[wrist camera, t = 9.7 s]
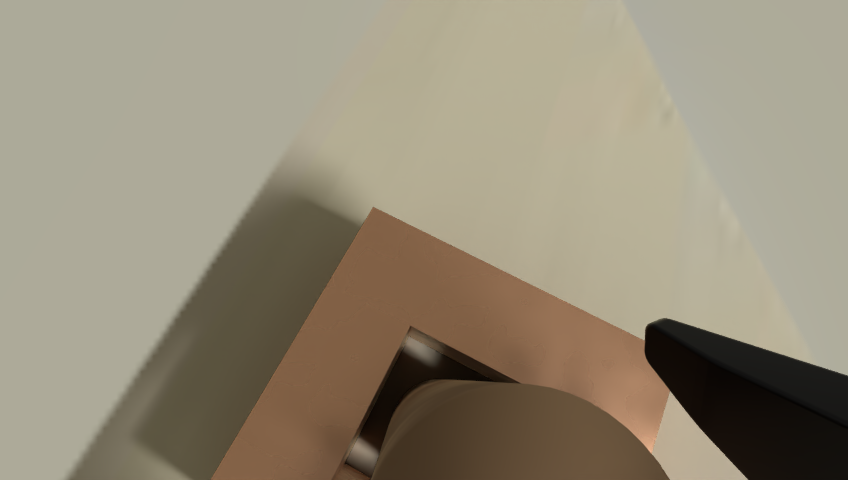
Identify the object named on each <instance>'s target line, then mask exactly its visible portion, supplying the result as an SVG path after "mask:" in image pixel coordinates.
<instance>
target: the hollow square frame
mask: <svg viewBox="0 0 848 480" xmlns="http://www.w3.org/2000/svg"><path fill="white" fill-rule="evenodd" d="M409 336H410V337H411V338H413V339H415V340H417V341H419V342H421V343H423V344H425V345H427V346H429V347H430V348H432V349H434V350H436V351H438V352H440V353H442V354H444V355H446V356H448V357H450V358H451V359H453V360H455V361H457V362H459V363H461V364H463V365H465V366H467V367H469V368H470V369H472V370H474V371H476V372H478V373H480V374H482V375H484V376H486V377H488V378H490V379H491V380H493V381H495V382H501V383H518V384H531V385H538V386H545V387H550V388H554V389H557V390H561V391H564V392H567V393H570V394H573V395H575V396H577V397H580V398H582V399H584V400H586V401H589V402H590V403H592V404H594V405H595V406H597V407H599V408H600V409H602V410H604V411H605V412H607V413H609V414H610V415H611V416H613V417H614V418H615V419H616V420H618V421H619V422H620V423H622V424H623V425H624V426H625V427H627V428H628V429H629V430H630V431H631V432H632V433H633V434H634V435H635V436H636V437H637V438H638V439H639V440H640V441H641V442H642V443H643V444H644V445H645V447H646V448H647V449H648V450H649V451H650V453H651V454H652V450H653V447H654V444H655V440H656V437H657V433H658V430H659V426H660V423H661V420H662V416H663V413H664V409H665V406H666V402H667V399H668V395H669V392H670V390H669V389H668V387H667V386H666V385H665V384H664V382H663V381H662V380H661V378H660V377H659V376H658V375H657V373H656V372H655V371H654V369H653V368H652V367H651V366H650V364H649V363H648V361H647V359H646V357H645V353H644V347H645V341H644V340H642V339H640V338H638V337H636V336H634V335H632V334H630V333H628V332H626V331H624V330H622V329H620V328H618V327H616V326H613V325H611V324H609V323H607V322H605V321H603V320H601V319H599V318H597V317H595V316H593V315H591V314H589V313H587V312H585V311H583V310H581V309H579V308H577V307H575V306H573V305H571V304H569V303H567V302H565V301H563V300H561V299H559V298H557V297H555V296H553V295H551V294H549V293H547V292H545V291H543V290H541V289H539V288H536V287H534V286H532V285H530V284H528V283H526V282H524V281H522V280H520V279H518V278H516V277H514V276H512V275H510V274H508V273H506V272H504V271H502V270H500V269H498V268H496V267H494V266H492V265H490V264H488V263H486V262H484V261H482V260H480V259H478V258H476V257H474V256H472V255H470V254H468V253H466V252H464V251H462V250H459V249H457V248H455V247H453V246H451V245H449V244H447V243H445V242H443V241H441V240H439V239H437V238H435V237H433V236H431V235H429V234H427V233H425V232H423V231H421V230H419V229H417V228H415V227H413V226H411V225H409V224H407V223H405V222H403V221H401V220H399V219H397V218H395V217H393V216H391V215H389V214H387V213H385V212H382V211H380V210H378V209H376V208H374V207H373V208H372V210H371V212H370V213H369V215H368V217H367V218H366V220H365V222H364V223H363V225H362V227H361V228H360V230H359V232H358V233H357V235H356V237H355V238H354V240H353V242H352V243H351V245H350V247H349V248H348V250H347V252H346V253H345V255H344V257H343V258H342V260H341V262H340V264H339V265H338V267H337V269H336V270H335V272H334V274H333V275H332V277H331V279H330V280H329V282H328V284H327V285H326V287H325V289H324V290H323V292H322V294H321V295H320V297H319V299H318V300H317V302H316V304H315V305H314V307H313V309H312V310H311V312H310V314H309V315H308V317H307V319H306V320H305V322H304V324H303V326H302V327H301V329H300V331H299V332H298V334H297V336H296V337H295V339H294V341H293V342H292V344H291V346H290V347H289V349H288V351H287V352H286V354H285V356H284V357H283V359H282V361H281V362H280V364H279V366H278V367H277V369H276V371H275V372H274V374H273V376H272V377H271V379H270V381H269V383H268V384H267V386H266V388H265V389H264V391H263V393H262V394H261V396H260V398H259V399H258V401H257V403H256V404H255V406H254V408H253V409H252V411H251V413H250V414H249V416H248V418H247V419H246V421H245V423H244V424H243V426H242V428H241V429H240V431H239V433H238V434H237V436H236V438H235V440H234V441H233V443H232V445H231V446H230V448H229V450H228V451H227V453H226V455H225V456H224V458H223V460H222V461H221V463H220V465H219V466H218V468H217V470H216V471H215V473H214V475H213V476H212V478H211V480H371V478H370V477H368V476H367V475H365V474H363V473H361V472H360V471H358V470H356V469H354V468H353V467H351V466H349V465H347V464H346V463H345V461H346V460H347V458H348V456H349V454H350V452H351V450H352V448H353V446H354V444H355V442H356V440H357V438H358V436H359V434H360V432H361V430H362V428H363V426H364V424H365V422H366V420H367V418H368V416H369V414H370V412H371V410H372V408H373V406H374V404H375V402H376V400H377V398H378V397H379V395H380V393H381V391H382V389H383V387H384V385H385V383H386V381H387V379H388V377H389V375H390V373H391V371H392V369H393V367H394V365H395V363H396V361H397V359H398V357H399V355H400V353H401V351H402V349H403V347H404V345H405V343H406V341H407V339H408V337H409Z"/></svg>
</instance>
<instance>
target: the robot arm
mask: <svg viewBox="0 0 848 480" xmlns="http://www.w3.org/2000/svg"><path fill="white" fill-rule="evenodd" d="M644 353H645V357H646V359H647V361H648V363H649V364H650V366H651V367H652V368H653V369H654V371H655V372H656V373H657V375H658V376H659V377H660V378H661V380H662V381H663V382H664V384H665V385H666V386H667V387H668V389H669V390H670V391H671V392H672V394H673V395H674V396H675V398H676V399H677V400H678V401H679V403H680V404H681V405H682V407H683V408H684V409H685V410H686V412H687V413H688V414H689V415H690V417H691V418H692V419H693V420H694V422H695V423H696V424H697V425H698V426H699V427H700V429H701V430H702V431H703V432H704V433H705V434H706V435H707V436H708V437H709V438H710V440H711V441H712V442H713V443H714V444H715V445H716V446H717V447H718V448H719V449H720V450H721V451H722V452H723V453H724V454H725V455H726V457H727V458H728V459H729V460H730V461H731V462H732V463H733V464H734V465H735V466H736V467H737V468H738V469H739V470H740V471H741V473H742V474H743V475H744V476H745V477H746V478H747V479H748V480H848V376H847V375H844V374H841V373H838V372H835V371H831V370H828V369H825V368H822V367H819V366H816V365H813V364H810V363H806V362H803V361H800V360H797V359H794V358H791V357H788V356H784V355H781V354H778V353H775V352H772V351H769V350H766V349H763V348H759V347H756V346H753V345H750V344H747V343H744V342H741V341H737V340H734V339H731V338H728V337H725V336H722V335H719V334H715V333H712V332H709V331H706V330H703V329H700V328H697V327H693V326H690V325H687V324H684V323H681V322H678V321H675V320H671V319H667V318H663V319H659V320H657V321H654V322H652V323H649V324H648V325H647V326H646V329H645V347H644Z"/></svg>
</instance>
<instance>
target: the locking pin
mask: <svg viewBox="0 0 848 480" xmlns="http://www.w3.org/2000/svg"><path fill="white" fill-rule="evenodd" d="M371 480H670V479H669V478H668V476H667V475H666V473H665V472H664V470H663V469H662V467H661V465H660V464H659V462H658V461H657V460H656V459H655V458H654V456H653V455H652V454H651V453H650V451H649V450H648V449H647V448H646V447H645V445H644V444H643V443H642V442H641V441H640V440H639V439H638V438H637V437H636V436H635V435H634V434H633V433H632V432H631V431H630V430H629V429H628V428H627V427H625V426H624V425H623V424H622V423H620V422H619V421H618V420H616V419H615V418H614V417H613V416H611V415H610V414H609V413H607V412H605V411H604V410H602V409H600V408H599V407H597V406H595V405H594V404H592V403H590V402H589V401H586V400H584V399H582V398H580V397H577V396H575V395H573V394H570V393H567V392H564V391H561V390H557V389H554V388H550V387H545V386H538V385H531V384H518V383H501V382H483V381H466V380H448V379H432V380H427V381H423V382H421V383H419V384H417V385H415V386H413V387H412V388H411V389H409V390H408V391H407V392H406V393H405V394H404V395H403V396H402V397H401V399H400V400H399V401H398V403H397V405H396V407H395V409H394V411H393V414H392V417H391V420H390V423H389V426H388V429H387V432H386V435H385V438H384V441H383V444H382V447H381V450H380V454H379V457H378V460H377V463H376V466H375V469H374V472H373V475H372V478H371Z"/></svg>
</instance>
